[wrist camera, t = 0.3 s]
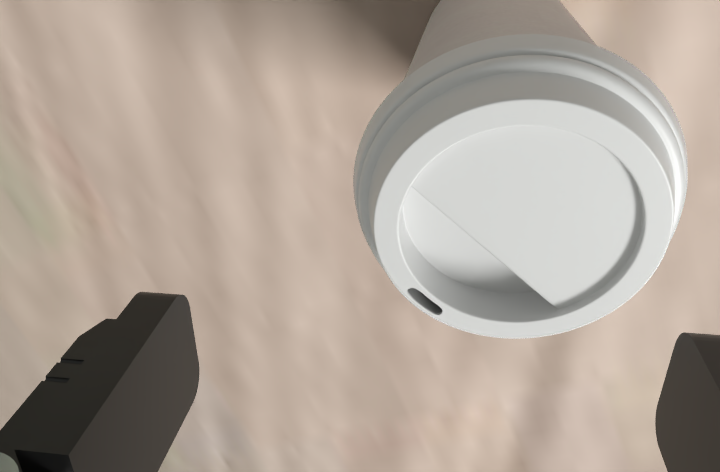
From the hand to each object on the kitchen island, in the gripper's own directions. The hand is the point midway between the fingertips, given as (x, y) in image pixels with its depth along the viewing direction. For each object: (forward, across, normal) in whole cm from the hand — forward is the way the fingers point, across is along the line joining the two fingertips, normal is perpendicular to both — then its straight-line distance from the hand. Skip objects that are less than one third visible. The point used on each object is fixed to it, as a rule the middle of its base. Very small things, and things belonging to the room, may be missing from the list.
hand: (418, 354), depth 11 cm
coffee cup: (+22, -2, 0) cm, 22 cm away
